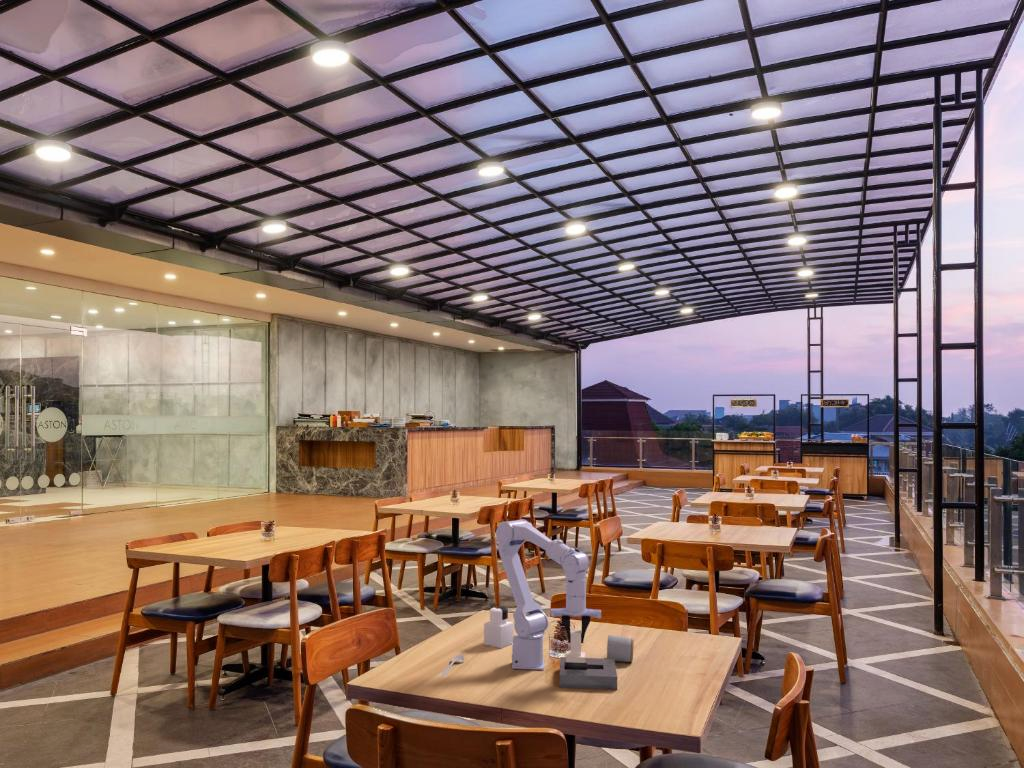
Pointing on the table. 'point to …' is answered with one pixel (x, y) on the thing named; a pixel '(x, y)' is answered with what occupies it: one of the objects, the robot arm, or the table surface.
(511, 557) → the robot arm
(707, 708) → the table surface
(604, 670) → the keyhole plate
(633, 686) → the table surface
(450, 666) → the spoon
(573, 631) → the peg
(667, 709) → the table surface
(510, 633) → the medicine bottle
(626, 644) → the ceramic mug
